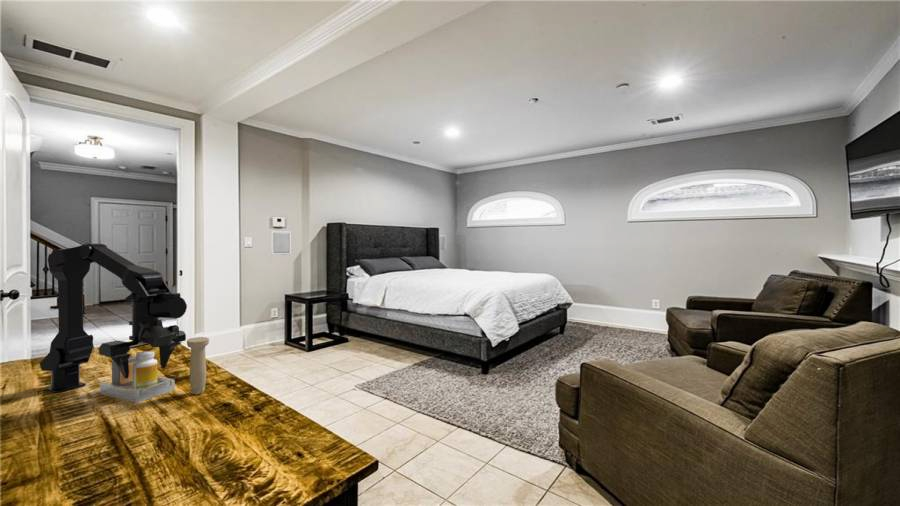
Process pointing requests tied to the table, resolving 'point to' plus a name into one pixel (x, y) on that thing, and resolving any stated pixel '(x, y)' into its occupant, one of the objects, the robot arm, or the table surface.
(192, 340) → the handle
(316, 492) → the table surface
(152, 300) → the robot arm
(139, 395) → the grey tray
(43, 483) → the table surface
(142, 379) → the supplement bottle
